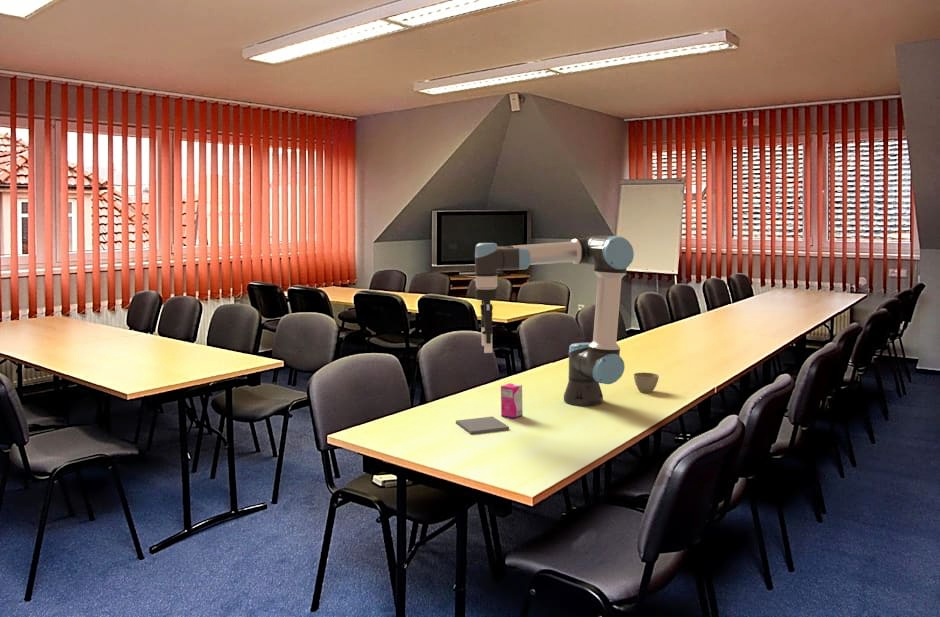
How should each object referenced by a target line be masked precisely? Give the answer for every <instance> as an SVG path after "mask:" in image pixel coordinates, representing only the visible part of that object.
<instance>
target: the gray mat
mask: <svg viewBox="0 0 940 617" xmlns="http://www.w3.org/2000/svg"><path fill="white" fill-rule="evenodd" d="M455 424H456V425H457V426H459V427H460V428H462V429H463V430H464V431H465V432H467V433H468V434H469V435H478V434H484V433H493V432H501V431H509V430H510V426H508V425H507V424H506V423H504V422H502V421H500V419H498V418H496V417H494V416H485V417H483V416H482V417H476V418H475V417H473V418H467V419H459V420H458V419H457V420H455Z"/></svg>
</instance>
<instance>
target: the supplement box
mask: <svg viewBox="0 0 940 617" xmlns="http://www.w3.org/2000/svg"><path fill="white" fill-rule="evenodd" d="M500 410H501V413H500V416H501V417H503V418H505V419H506V418H507V419H511V420H515V419H518V418H521V417H523V412H524V411H523V385H522V384H516V383H507V384H503V385H500Z"/></svg>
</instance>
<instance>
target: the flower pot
mask: <svg viewBox="0 0 940 617" xmlns="http://www.w3.org/2000/svg"><path fill="white" fill-rule="evenodd" d="M633 379H634V383H635V386H636V388H637V390H638V391H639V393H640V394H652V393H653V392H654V391H655V389H656V386H657V384H658V382H659V374H657V373H652V372H635V373H634V374H633Z"/></svg>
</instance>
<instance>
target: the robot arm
mask: <svg viewBox="0 0 940 617" xmlns="http://www.w3.org/2000/svg"><path fill="white" fill-rule="evenodd" d="M474 251H475V252H474V263H475V264H474V265H475V266H474V267H475V278H473V281H474V282H475V299H476V301H477V300H478V301H481V302H480V303H481V304H480V315H481V317H480V326H481V333H480V334H481V346H482V347H483V348H484V349H483V351H484V354H492V353H493V332H494V329H493V309H494V306H493V304H492V303H491V301H495V300H498V289H497V287H498V271H516V270H517V271H518V270H519V271H520V270H527V269H528V268H529V266H531V265H532V266H533V265H547V264H548V265H549V264H559V263H561V264H562V263H573V265H590V266H594V267H593V272H594V274H595V275H596V276H597V284H596V298H595V309H594V321H593V322H594V323H593V333H592V341H591V342H577V343H571V344H570V345H569V347H568V348H569V349H568V381H567V385H566V388H565V391H564V394H563V401H564V403H567V404H569V405H573V406H581V407H582V406H583V407H584V406H586V407H587V406H590V407H591V406H597V405H601V404H602V403H604V395H603V392H602V388H601V385H600V384H604V385H612V384H614V383H616V382H618V381H619V380H620V379H621V377H622V376H623V375H624V372H625V361H624V360H623V358H622V357H621V355H620V352H621V347H620V346H619V344H618V343H617V339H618V338H617V337H618V328H619V327H618V326H619V315H620V314H619V312H620V301H621V291H622V290H621V289H622V279H623V277H625V276H626V275H627V268H628V267H630V265H631V264H632V263H633V260H634V256H635V252H634V247H633V245H632V244H631V243H630V241H629V240H628V239H626V238H625V237H622V236H619V235H603V234H599V235H591V236H587V237H581V238H573V239H571V241H563V242H547V243H545V242H544V243H534V244H533V243H532V244H531V243H530V244H518V245H505V246H504V245H503V246H498V244H497V242H496V243H495V242H478V243H477V244H476V245H475V250H474Z"/></svg>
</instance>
